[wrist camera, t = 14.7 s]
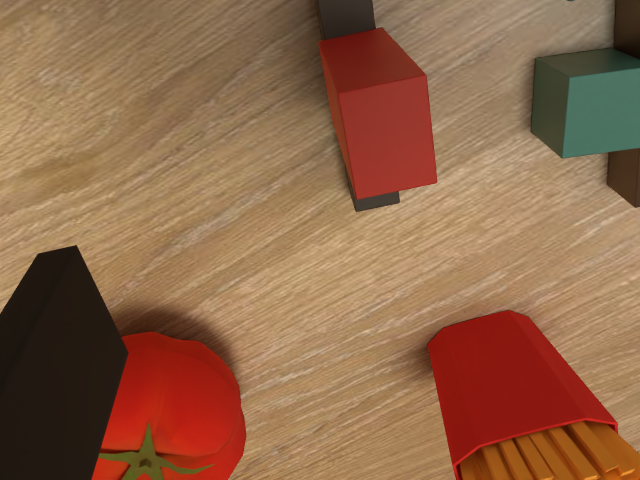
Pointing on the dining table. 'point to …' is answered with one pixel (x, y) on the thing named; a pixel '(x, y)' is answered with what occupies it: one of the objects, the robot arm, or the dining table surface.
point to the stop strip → (635, 164)
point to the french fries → (521, 407)
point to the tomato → (172, 414)
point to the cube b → (587, 102)
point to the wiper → (375, 105)
